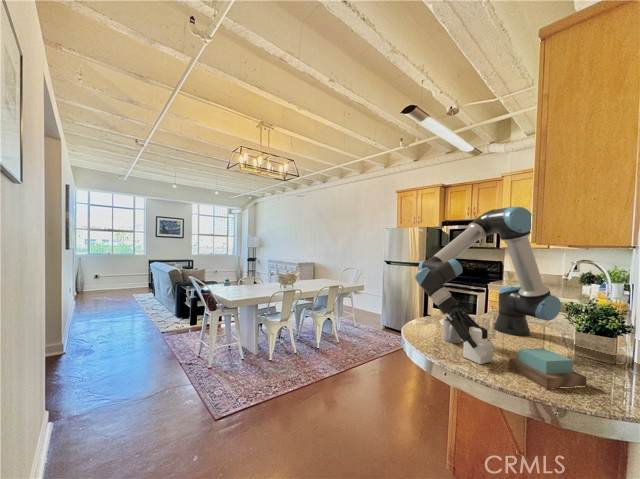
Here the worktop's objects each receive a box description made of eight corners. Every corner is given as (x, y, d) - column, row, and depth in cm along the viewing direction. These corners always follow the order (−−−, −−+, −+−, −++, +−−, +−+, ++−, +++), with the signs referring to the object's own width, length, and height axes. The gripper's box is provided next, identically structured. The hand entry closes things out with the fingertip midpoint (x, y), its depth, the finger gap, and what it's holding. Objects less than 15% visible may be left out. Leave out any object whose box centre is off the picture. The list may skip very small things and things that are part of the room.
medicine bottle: (474, 354, 108) (475, 323, 108) (492, 361, 102) (493, 329, 102) (462, 357, 105) (463, 325, 105) (480, 364, 99) (481, 331, 99)
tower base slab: (543, 369, 99) (543, 357, 99) (586, 389, 85) (586, 376, 85) (508, 370, 97) (509, 358, 97) (546, 391, 83) (547, 378, 83)
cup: (460, 339, 125) (461, 320, 125) (460, 346, 116) (461, 325, 116) (443, 336, 128) (444, 317, 129) (441, 343, 120) (442, 323, 120)
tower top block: (542, 359, 97) (542, 348, 98) (572, 372, 88) (573, 360, 88) (518, 360, 96) (518, 349, 96) (546, 374, 86) (546, 361, 86)
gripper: (448, 302, 122) (487, 349, 110) (426, 310, 107) (469, 365, 95) (461, 292, 118) (503, 340, 107) (440, 298, 103) (487, 354, 92)
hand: (487, 351), depth 101 cm, fingers closed on medicine bottle, 9 cm apart
